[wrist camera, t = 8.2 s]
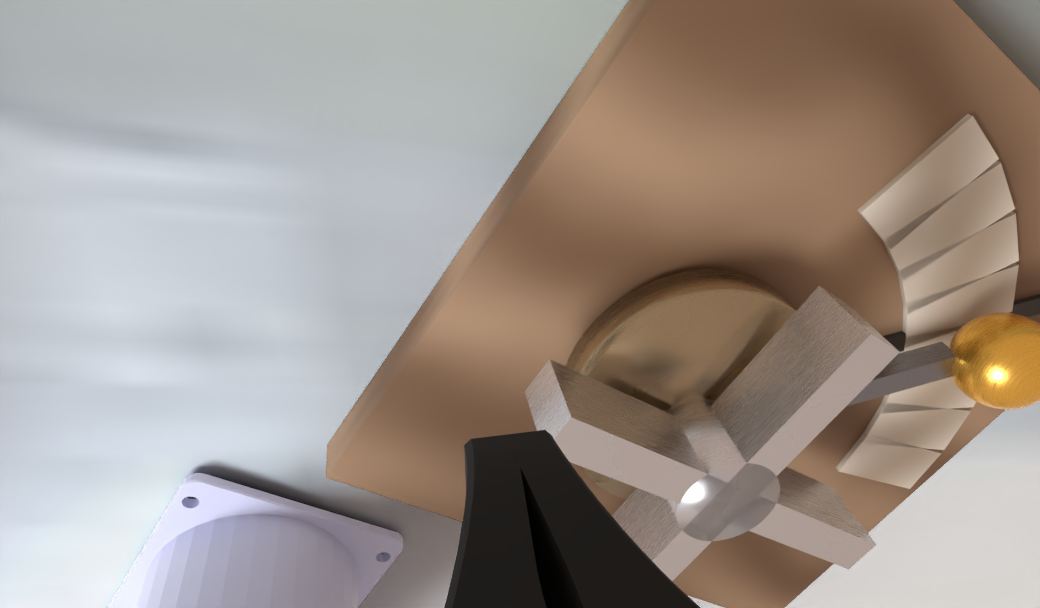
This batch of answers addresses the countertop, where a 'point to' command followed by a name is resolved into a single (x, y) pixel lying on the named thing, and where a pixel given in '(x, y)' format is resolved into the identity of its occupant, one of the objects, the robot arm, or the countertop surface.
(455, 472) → the lever board
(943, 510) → the countertop surface
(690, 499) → the capstan
